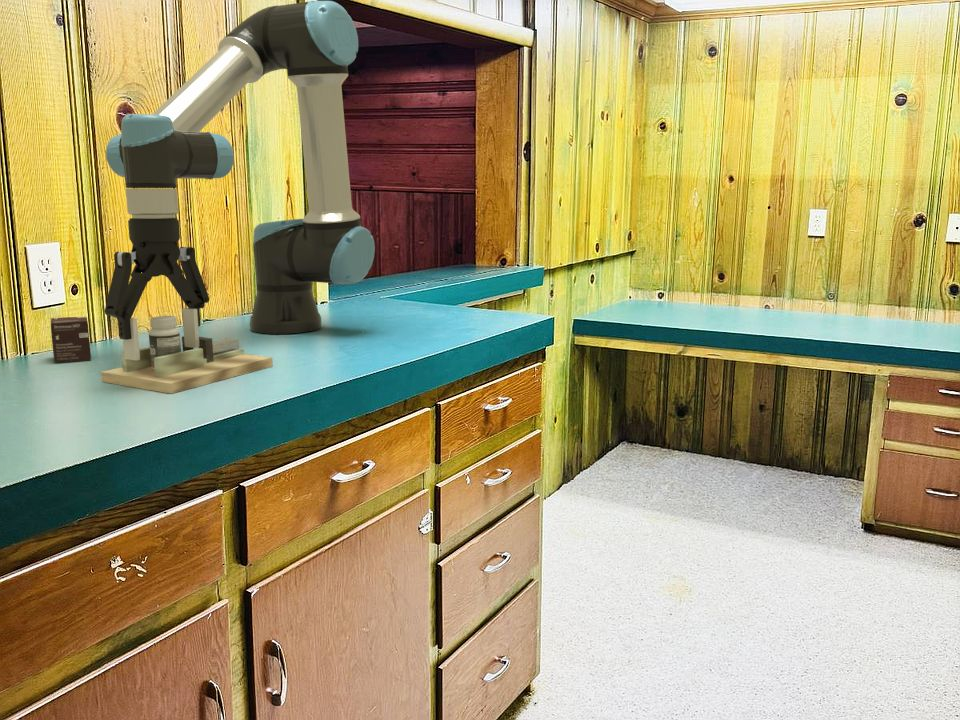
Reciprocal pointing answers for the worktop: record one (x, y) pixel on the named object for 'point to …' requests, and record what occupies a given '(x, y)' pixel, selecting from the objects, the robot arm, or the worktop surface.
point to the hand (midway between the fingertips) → (163, 353)
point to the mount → (184, 368)
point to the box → (70, 339)
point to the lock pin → (224, 345)
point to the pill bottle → (163, 337)
